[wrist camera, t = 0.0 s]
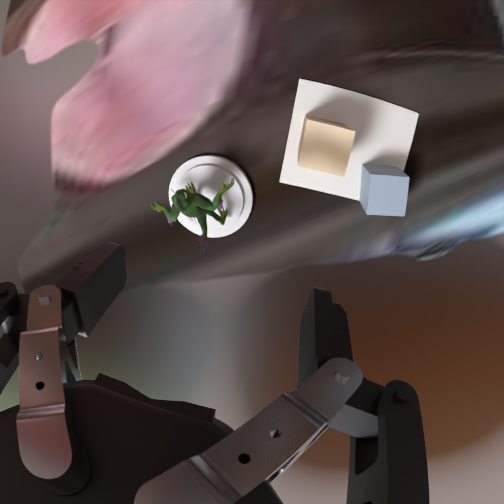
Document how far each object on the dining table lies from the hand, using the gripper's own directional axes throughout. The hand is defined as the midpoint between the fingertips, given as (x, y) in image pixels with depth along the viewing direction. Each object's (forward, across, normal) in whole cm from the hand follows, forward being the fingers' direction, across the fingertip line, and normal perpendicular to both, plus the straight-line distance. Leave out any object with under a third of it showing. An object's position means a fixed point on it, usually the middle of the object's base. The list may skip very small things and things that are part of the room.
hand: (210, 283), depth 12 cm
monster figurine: (+30, +7, +8) cm, 31 cm away
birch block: (+29, -6, -3) cm, 30 cm away
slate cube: (+29, -15, +1) cm, 33 cm away
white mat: (+29, -10, -3) cm, 31 cm away
